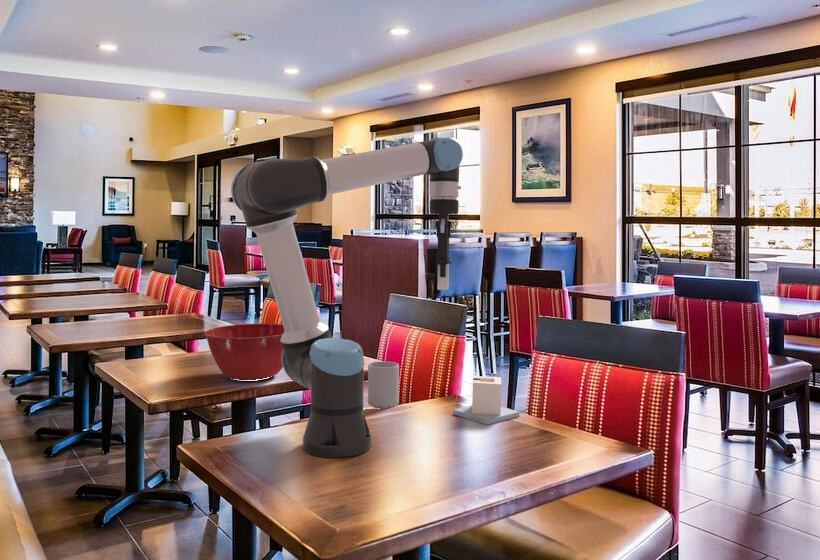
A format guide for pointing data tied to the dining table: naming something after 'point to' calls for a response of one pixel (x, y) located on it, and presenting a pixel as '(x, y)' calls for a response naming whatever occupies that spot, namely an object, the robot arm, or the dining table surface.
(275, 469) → the dining table surface
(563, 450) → the dining table surface
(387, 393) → the mug
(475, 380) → the cube with square hole
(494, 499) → the dining table surface
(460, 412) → the plate
